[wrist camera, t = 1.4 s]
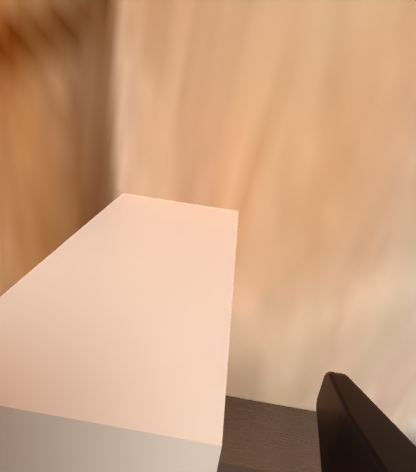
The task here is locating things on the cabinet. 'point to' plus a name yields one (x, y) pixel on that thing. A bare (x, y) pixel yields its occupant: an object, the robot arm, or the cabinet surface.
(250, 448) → the square hole rail
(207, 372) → the square peg
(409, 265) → the cabinet surface
